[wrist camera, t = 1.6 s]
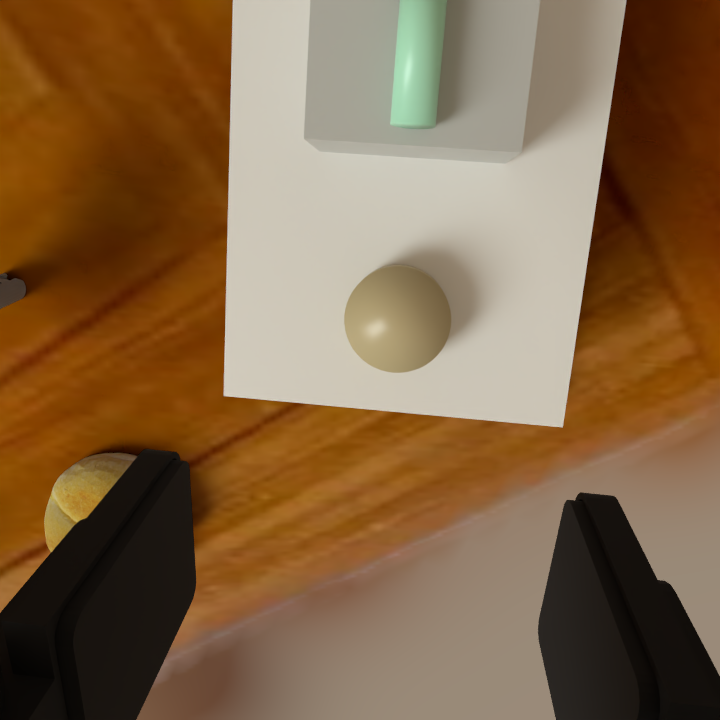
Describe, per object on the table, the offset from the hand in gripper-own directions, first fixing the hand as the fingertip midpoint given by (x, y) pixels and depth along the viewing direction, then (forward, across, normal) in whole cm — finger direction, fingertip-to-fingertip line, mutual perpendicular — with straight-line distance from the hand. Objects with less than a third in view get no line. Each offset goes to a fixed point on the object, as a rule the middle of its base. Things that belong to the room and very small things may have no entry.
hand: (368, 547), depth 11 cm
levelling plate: (+17, 0, -5) cm, 18 cm away
